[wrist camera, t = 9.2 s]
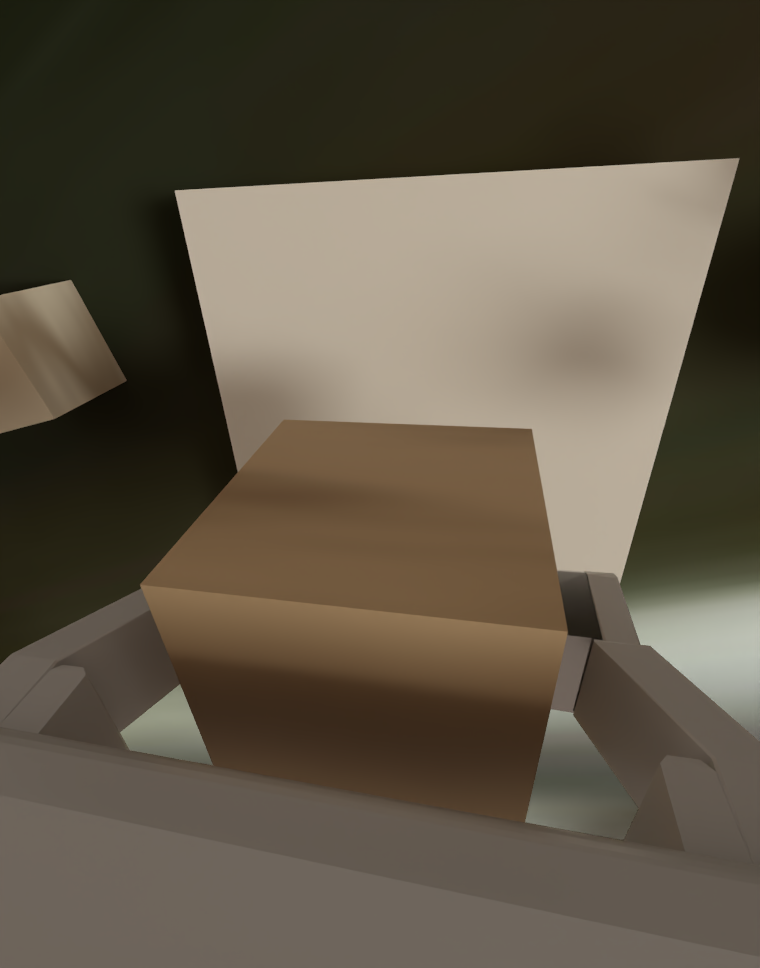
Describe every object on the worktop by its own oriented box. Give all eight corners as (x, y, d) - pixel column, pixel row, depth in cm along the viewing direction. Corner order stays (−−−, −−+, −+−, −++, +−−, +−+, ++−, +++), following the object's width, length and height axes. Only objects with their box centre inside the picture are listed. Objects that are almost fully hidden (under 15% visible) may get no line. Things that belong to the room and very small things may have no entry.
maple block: (128, 380, 20) (54, 418, 17) (56, 400, 21) (-25, 439, 18) (72, 279, 18) (-23, 299, 15) (-3, 307, 19) (-106, 332, 16)
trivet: (599, 565, 20) (612, 609, 18) (281, 539, 23) (260, 574, 21) (698, 163, 13) (739, 158, 11) (217, 190, 15) (174, 190, 13)
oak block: (507, 615, 12) (518, 852, 8) (312, 594, 13) (225, 795, 9) (531, 428, 9) (568, 632, 5) (284, 419, 10) (139, 584, 6)
